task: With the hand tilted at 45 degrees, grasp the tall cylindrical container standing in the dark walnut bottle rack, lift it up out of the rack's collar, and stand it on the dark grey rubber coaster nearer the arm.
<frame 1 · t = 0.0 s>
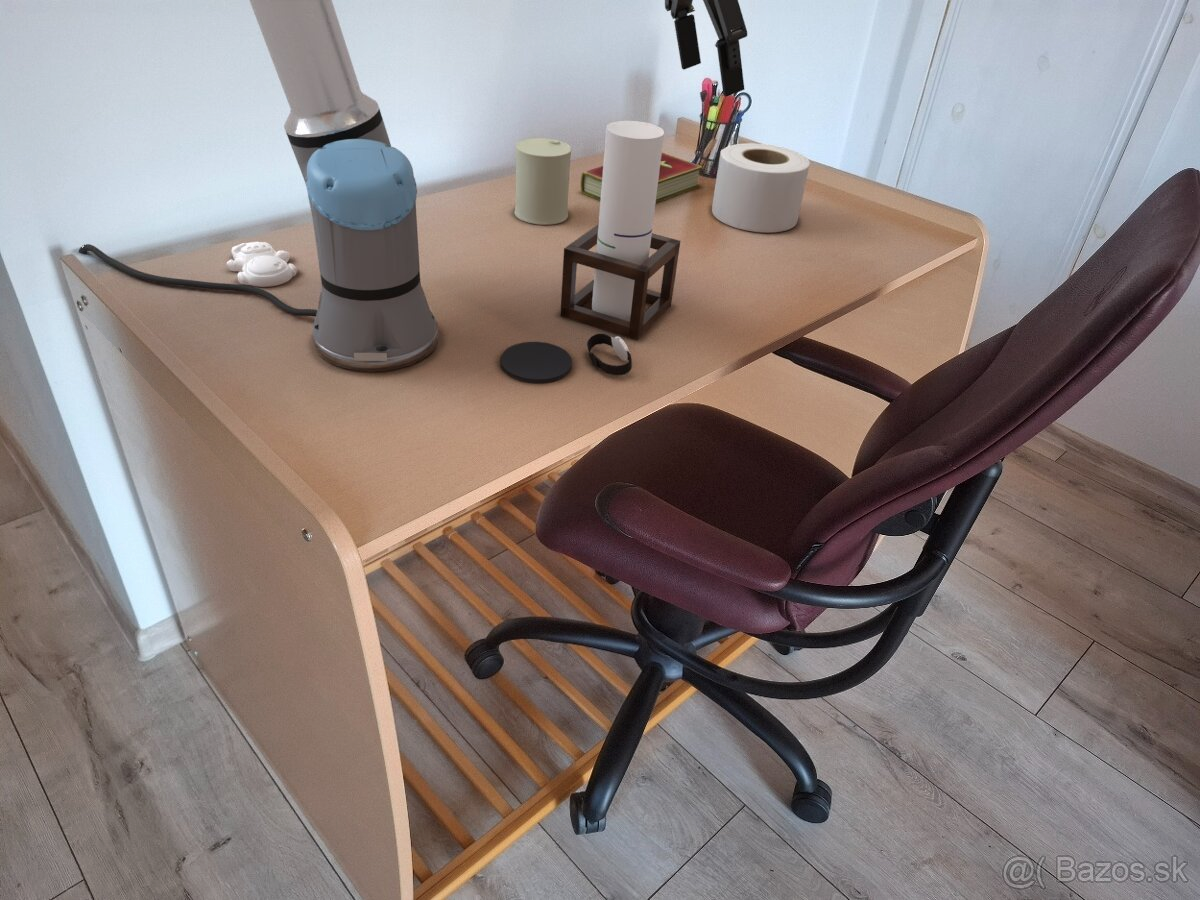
hand: (711, 78, 114), 28 cm above the table, tool tilted 20°, fingers open, 13 cm apart
rack: (616, 311, 118), on the table
cylindrical container: (616, 312, 118), resting in rack
hardcover book: (641, 190, 157), on the table
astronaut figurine: (262, 269, 120), on the table
watch: (608, 365, 106), on the table
can: (541, 215, 143), on the table
white paper roll: (753, 217, 151), on the table
coaster: (536, 363, 105), on the table
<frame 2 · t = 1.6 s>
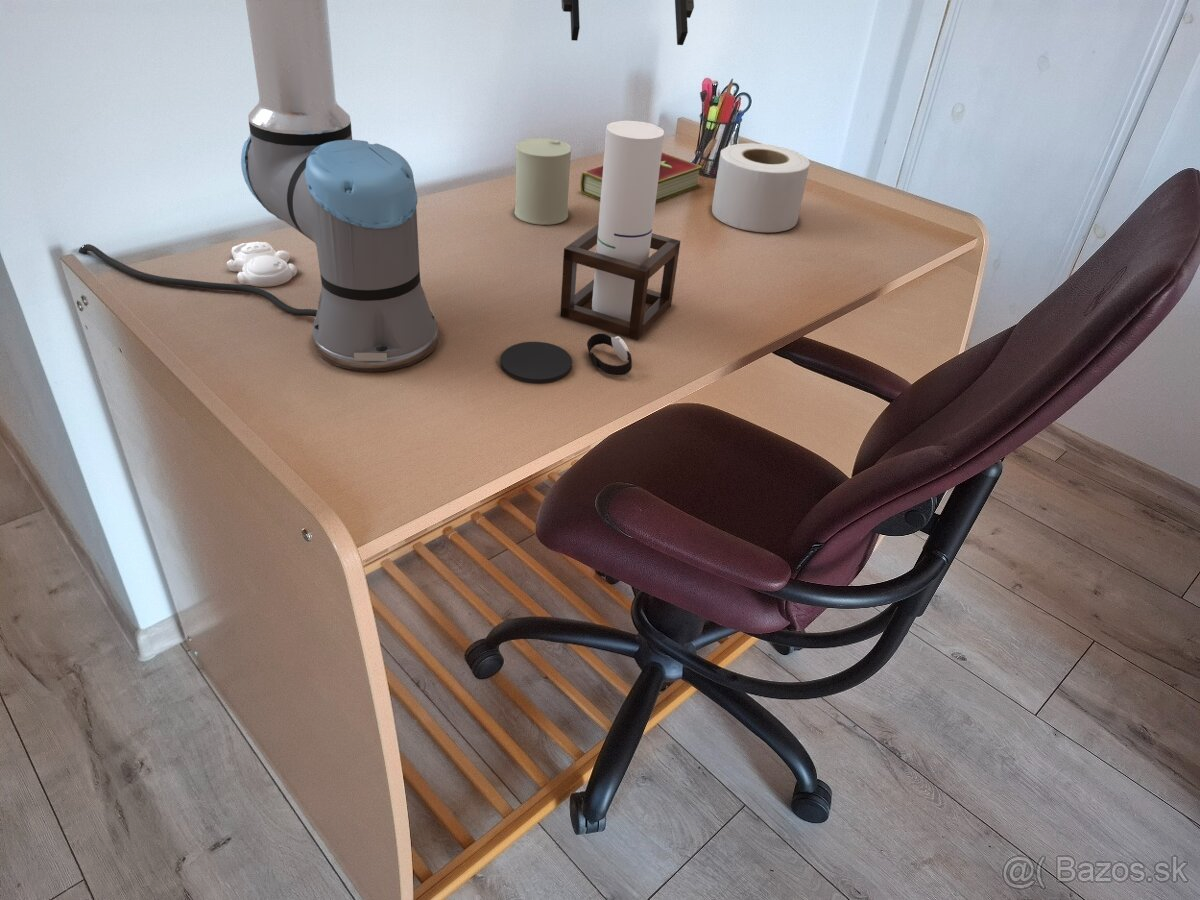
hand: (629, 36, 105), 34 cm above the table, tool tilted 45°, fingers open, 13 cm apart
nothing on the table moved.
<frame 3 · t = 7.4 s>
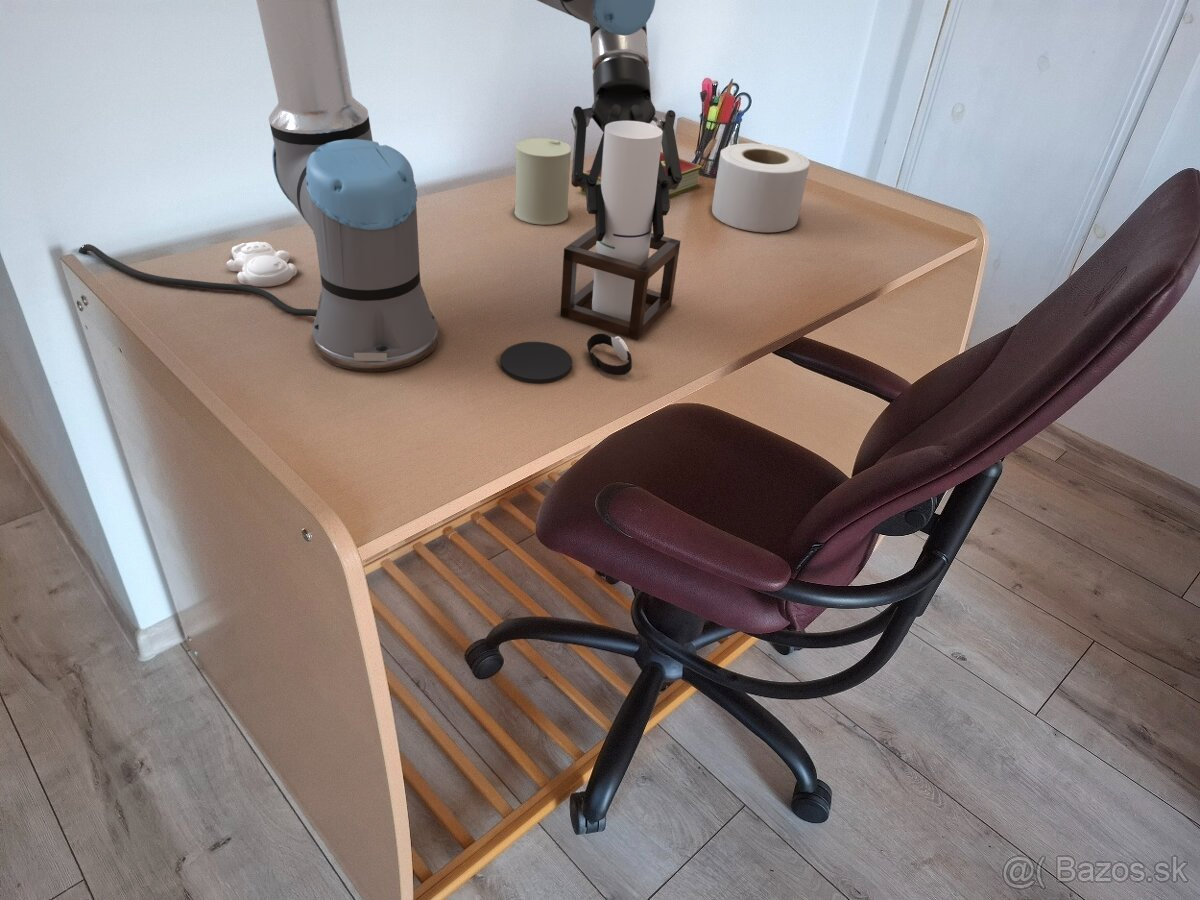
hand: (630, 237, 107), 13 cm above the table, tool tilted 45°, fingers closed on cylindrical container, 7 cm apart
cylindrical container: (616, 312, 118), resting in rack, touching gripper
everything else where it was.
when the fingers open (13 cm above the table, at t = 17.0 s): cylindrical container stays where it is, resting on coaster.
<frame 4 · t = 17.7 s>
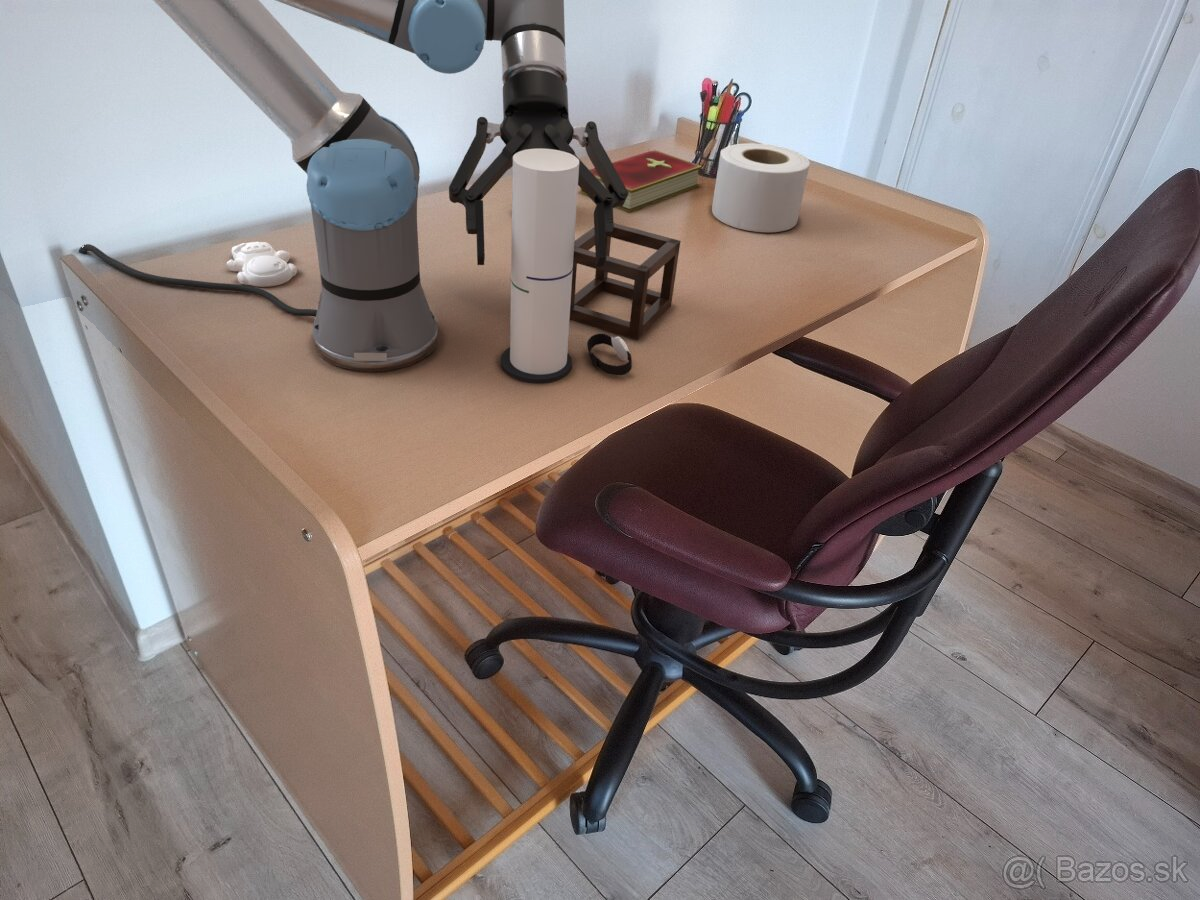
hand: (541, 262, 94), 15 cm above the table, tool tilted 45°, fingers open, 13 cm apart
cylindrical container: (538, 360, 105), resting on coaster
everything else where it was.
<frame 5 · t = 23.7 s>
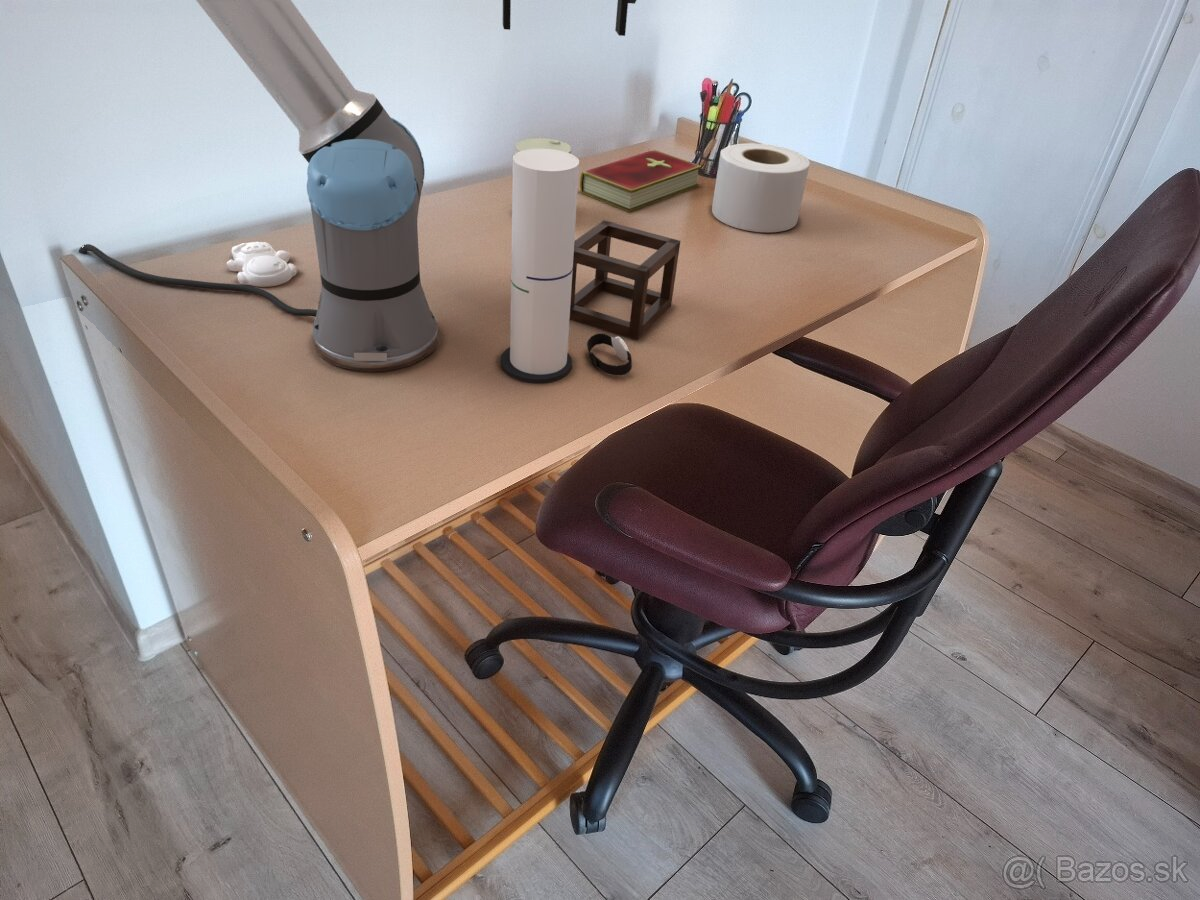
hand: (563, 30, 99), 35 cm above the table, tool pointing down, fingers open, 13 cm apart
nothing on the table moved.
at the end: cylindrical container 0.3 cm off-centre on the coaster, point 0.4 cm above the coaster's base; cylindrical container tilted 0°; the gripper is holding nothing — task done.
